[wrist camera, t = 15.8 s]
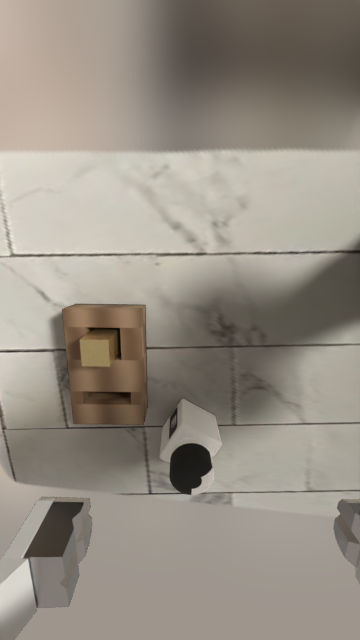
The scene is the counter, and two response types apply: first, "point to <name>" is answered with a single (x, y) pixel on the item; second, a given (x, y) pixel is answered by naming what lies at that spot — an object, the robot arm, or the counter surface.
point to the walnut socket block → (108, 382)
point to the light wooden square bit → (100, 347)
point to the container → (190, 447)
